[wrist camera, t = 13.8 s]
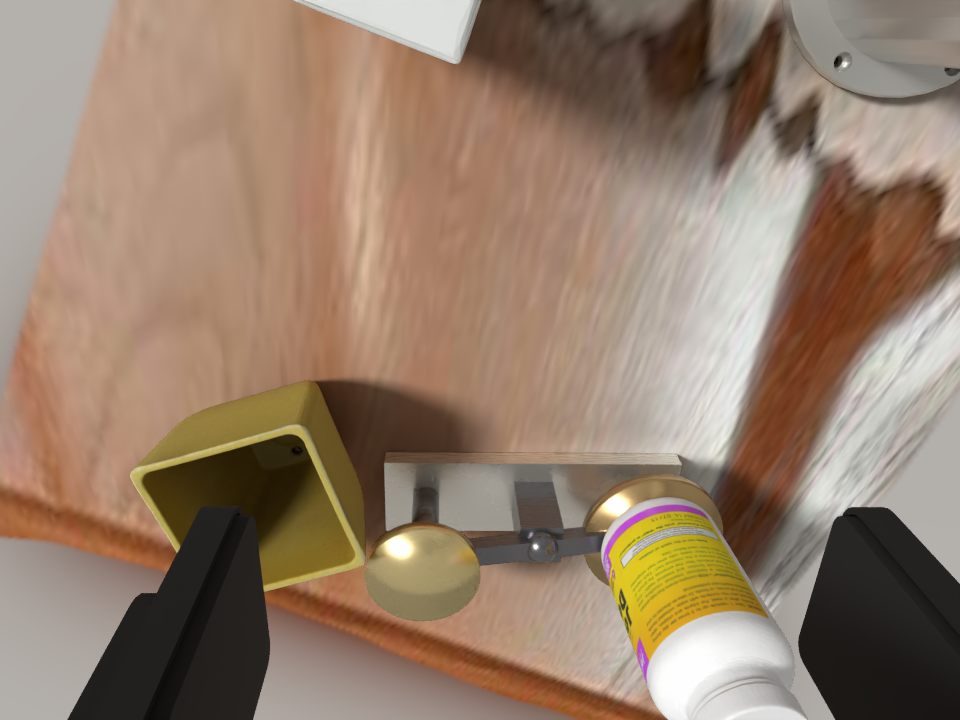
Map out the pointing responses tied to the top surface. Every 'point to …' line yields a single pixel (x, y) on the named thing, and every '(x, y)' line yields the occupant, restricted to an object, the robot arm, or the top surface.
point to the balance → (503, 517)
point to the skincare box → (410, 22)
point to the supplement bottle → (696, 617)
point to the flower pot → (264, 481)
